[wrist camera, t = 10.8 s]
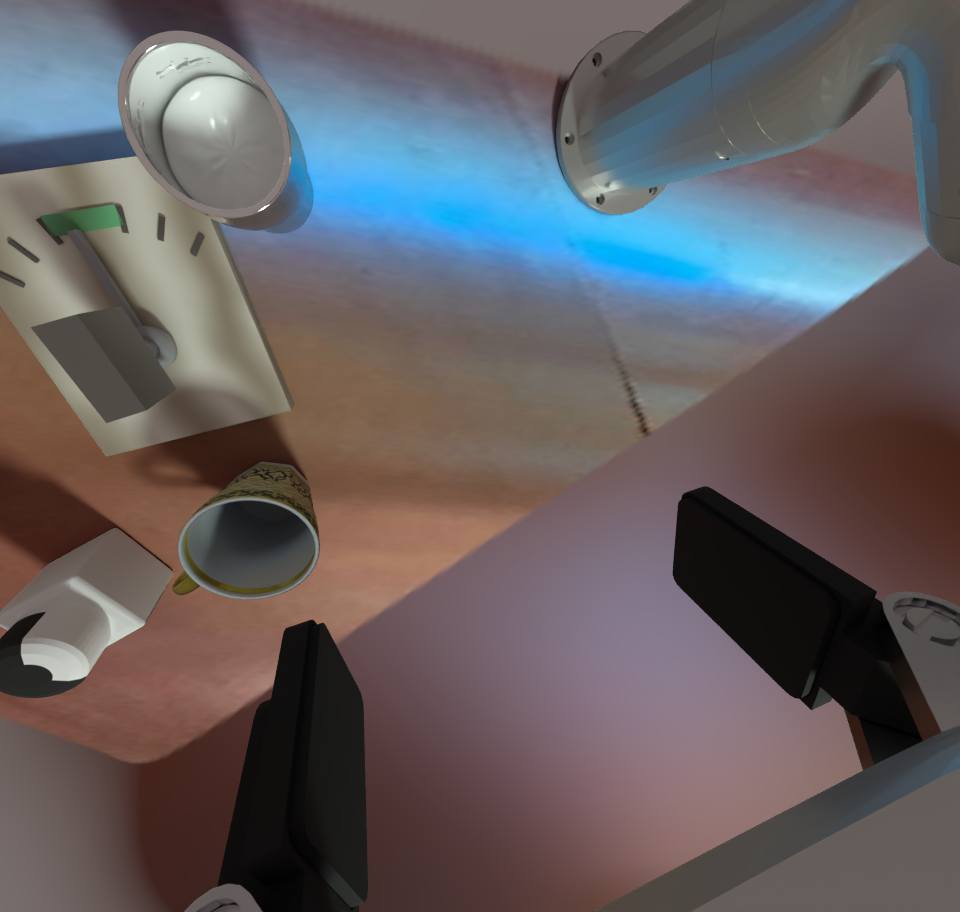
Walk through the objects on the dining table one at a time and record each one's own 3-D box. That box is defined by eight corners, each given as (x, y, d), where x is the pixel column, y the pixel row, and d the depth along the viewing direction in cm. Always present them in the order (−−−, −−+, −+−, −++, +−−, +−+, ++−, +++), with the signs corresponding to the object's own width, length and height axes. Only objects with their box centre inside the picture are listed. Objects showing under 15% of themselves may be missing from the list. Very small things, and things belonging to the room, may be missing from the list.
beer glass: (195, 176, 29) (68, 104, 16) (263, 107, 29) (189, -26, 16) (277, 259, 32) (226, 256, 19) (339, 199, 32) (329, 154, 19)
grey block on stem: (101, 224, 27) (11, 210, 20) (196, 376, 32) (153, 408, 25) (50, 237, 27) (-59, 227, 20) (156, 389, 32) (99, 425, 25)
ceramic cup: (281, 425, 38) (260, 473, 29) (346, 497, 43) (344, 556, 34) (163, 498, 38) (107, 567, 29) (242, 562, 43) (214, 637, 34)
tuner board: (191, 157, 29) (179, 149, 27) (294, 403, 37) (291, 411, 36) (-55, 191, 26) (-88, 185, 24) (118, 447, 35) (104, 457, 33)
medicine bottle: (113, 607, 41) (32, 723, 30) (47, 562, 37) (-70, 678, 27) (176, 571, 41) (117, 675, 31) (117, 524, 38) (27, 624, 27)
